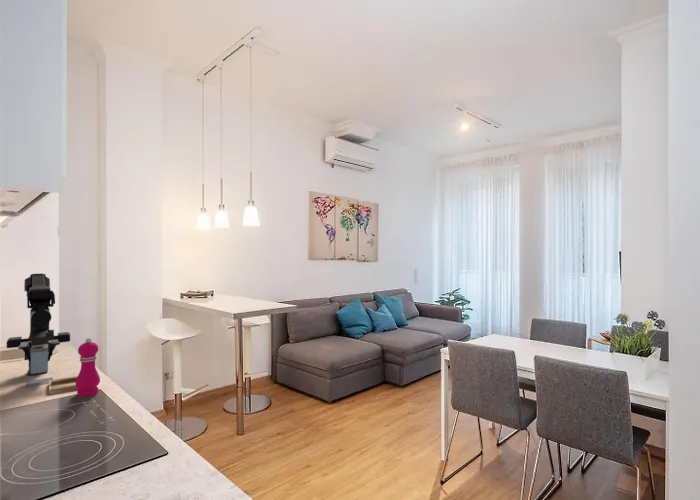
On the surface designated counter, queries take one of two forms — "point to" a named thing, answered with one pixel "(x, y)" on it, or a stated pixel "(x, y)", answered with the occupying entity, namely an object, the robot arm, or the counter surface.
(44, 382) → the mat
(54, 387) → the beige shallow tray
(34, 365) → the tin
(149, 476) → the counter surface
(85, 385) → the pepper mill
